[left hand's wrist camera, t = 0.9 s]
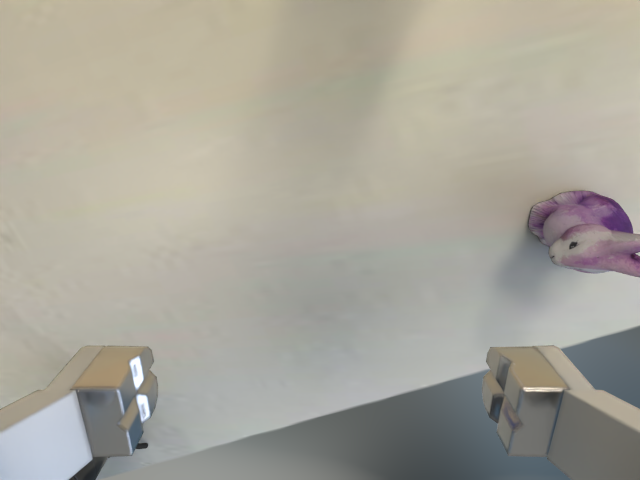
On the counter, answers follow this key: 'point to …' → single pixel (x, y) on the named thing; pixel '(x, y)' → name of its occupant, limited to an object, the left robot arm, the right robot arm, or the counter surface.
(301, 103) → the counter surface
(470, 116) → the counter surface
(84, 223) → the counter surface
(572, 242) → the figurine
